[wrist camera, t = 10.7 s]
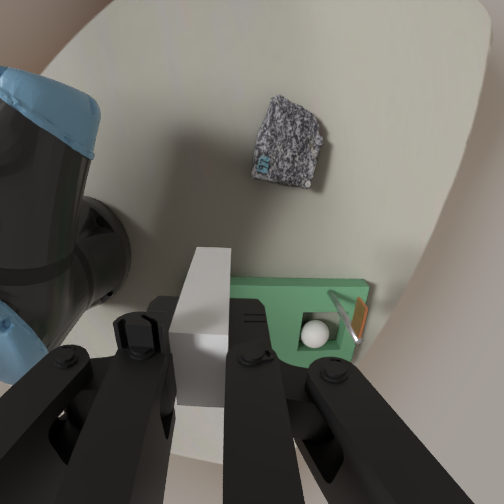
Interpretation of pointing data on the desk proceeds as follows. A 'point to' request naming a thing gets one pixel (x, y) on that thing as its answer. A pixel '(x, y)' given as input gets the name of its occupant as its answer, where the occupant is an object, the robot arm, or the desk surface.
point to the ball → (314, 333)
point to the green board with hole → (291, 311)
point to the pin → (358, 318)
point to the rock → (287, 145)
